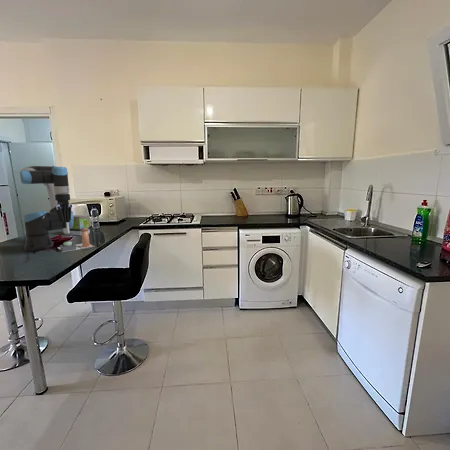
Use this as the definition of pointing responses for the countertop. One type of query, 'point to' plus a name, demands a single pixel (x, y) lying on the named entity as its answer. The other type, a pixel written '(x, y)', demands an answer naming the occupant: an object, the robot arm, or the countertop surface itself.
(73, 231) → the tea box
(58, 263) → the countertop surface
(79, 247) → the board
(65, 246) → the button
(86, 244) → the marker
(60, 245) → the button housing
